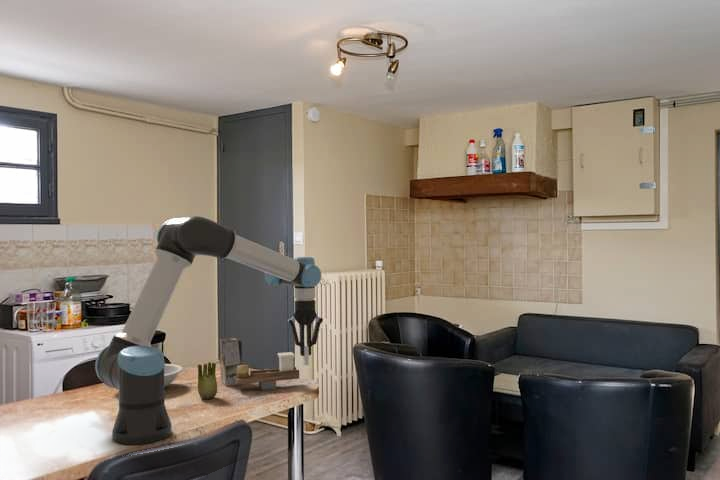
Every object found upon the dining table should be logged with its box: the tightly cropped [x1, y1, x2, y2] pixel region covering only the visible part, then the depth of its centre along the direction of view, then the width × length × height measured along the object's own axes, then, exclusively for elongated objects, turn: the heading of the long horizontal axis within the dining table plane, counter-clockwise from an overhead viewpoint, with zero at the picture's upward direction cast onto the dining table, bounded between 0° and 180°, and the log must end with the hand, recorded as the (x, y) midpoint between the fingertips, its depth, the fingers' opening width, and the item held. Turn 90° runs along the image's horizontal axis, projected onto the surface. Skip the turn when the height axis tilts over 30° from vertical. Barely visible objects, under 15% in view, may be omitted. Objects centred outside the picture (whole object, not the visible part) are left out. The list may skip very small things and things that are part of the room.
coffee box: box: [219, 337, 243, 387], centre depth 221 cm, size 9×6×16 cm
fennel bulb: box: [197, 361, 218, 400], centre depth 199 cm, size 6×5×12 cm
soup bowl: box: [164, 363, 184, 388], centre depth 213 cm, size 24×24×7 cm
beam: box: [235, 364, 300, 392], centre depth 212 cm, size 7×22×8 cm, turn 109°
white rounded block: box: [277, 351, 296, 371], centre depth 214 cm, size 5×5×7 cm
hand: (305, 364), depth 216 cm, fingers closed
